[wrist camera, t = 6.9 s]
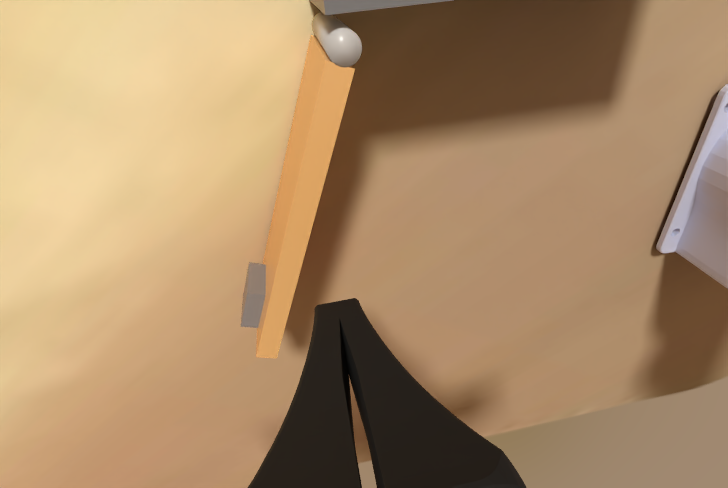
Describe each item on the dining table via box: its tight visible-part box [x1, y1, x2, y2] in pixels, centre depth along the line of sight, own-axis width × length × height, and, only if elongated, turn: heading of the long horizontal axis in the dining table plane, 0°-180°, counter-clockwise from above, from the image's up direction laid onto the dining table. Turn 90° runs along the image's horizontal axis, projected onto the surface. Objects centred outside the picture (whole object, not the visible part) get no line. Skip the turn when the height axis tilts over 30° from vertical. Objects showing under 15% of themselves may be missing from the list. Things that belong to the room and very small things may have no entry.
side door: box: [241, 12, 362, 358], centre depth 15 cm, size 2×12×5 cm, turn 163°
